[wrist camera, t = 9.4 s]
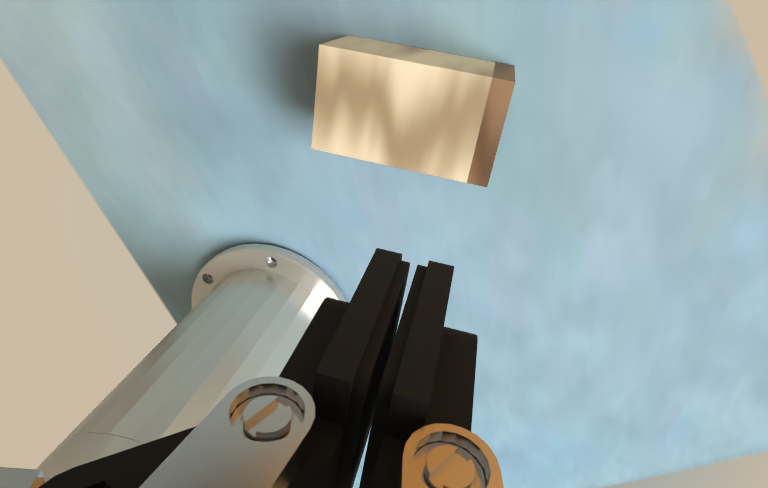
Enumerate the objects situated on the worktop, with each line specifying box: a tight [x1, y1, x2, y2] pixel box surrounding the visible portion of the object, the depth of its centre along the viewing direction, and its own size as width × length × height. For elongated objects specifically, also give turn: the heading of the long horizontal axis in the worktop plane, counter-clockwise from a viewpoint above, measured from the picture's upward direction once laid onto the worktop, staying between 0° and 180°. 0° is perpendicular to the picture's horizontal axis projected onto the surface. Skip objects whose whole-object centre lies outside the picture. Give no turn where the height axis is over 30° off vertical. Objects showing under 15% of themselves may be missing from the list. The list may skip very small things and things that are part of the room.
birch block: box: [311, 35, 515, 187], centre depth 25 cm, size 5×5×9 cm
